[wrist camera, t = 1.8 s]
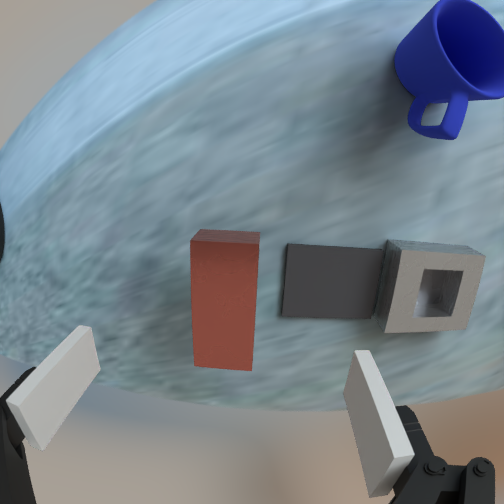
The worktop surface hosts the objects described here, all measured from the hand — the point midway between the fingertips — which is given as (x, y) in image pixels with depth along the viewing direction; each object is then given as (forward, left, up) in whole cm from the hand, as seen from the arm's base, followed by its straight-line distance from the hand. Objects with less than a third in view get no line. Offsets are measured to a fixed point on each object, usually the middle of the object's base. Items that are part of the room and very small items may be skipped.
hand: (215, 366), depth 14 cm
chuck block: (+19, -1, -16) cm, 24 cm away
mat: (+9, -1, -16) cm, 18 cm away
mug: (+16, +18, -16) cm, 29 cm away
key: (0, 0, -16) cm, 16 cm away
